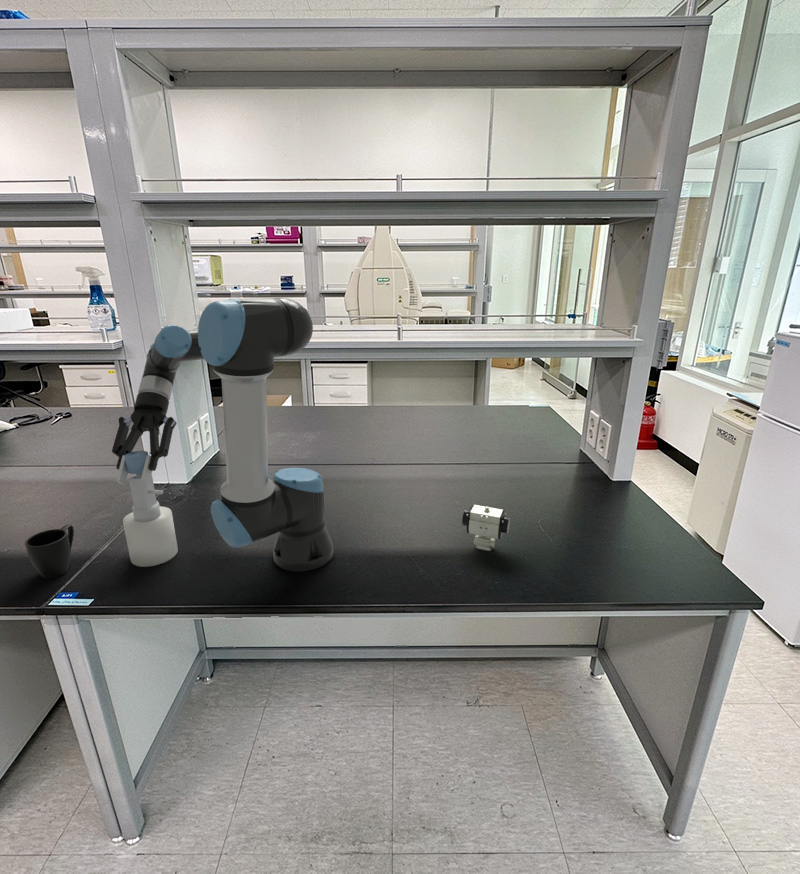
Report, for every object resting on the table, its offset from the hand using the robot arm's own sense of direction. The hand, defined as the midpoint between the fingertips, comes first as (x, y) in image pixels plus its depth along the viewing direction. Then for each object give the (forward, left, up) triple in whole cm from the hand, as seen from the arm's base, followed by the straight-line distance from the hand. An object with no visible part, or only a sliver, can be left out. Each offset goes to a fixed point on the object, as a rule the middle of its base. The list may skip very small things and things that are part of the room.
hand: (132, 482), depth 115 cm
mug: (+20, +5, -22) cm, 30 cm away
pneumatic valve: (-83, -21, -22) cm, 89 cm away
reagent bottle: (+1, -4, -22) cm, 22 cm away
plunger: (+1, -4, -7) cm, 8 cm away
